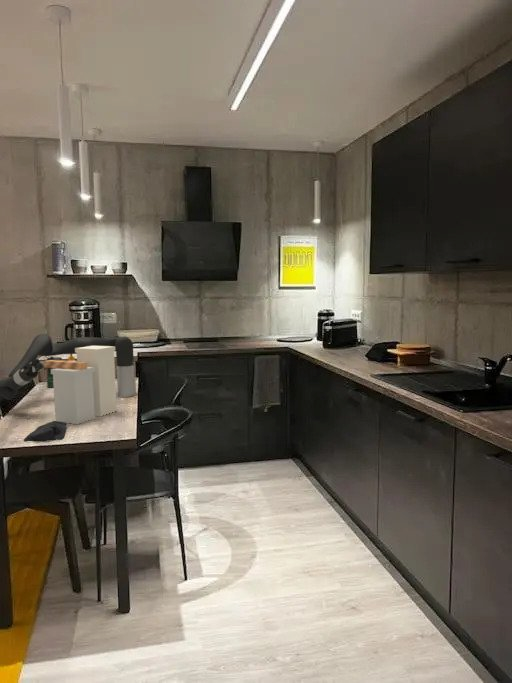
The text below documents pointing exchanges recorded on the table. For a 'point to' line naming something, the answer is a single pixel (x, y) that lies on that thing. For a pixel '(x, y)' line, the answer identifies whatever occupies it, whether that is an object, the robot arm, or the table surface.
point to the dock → (73, 395)
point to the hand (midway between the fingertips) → (46, 359)
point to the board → (65, 364)
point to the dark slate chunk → (48, 432)
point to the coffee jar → (50, 376)
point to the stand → (101, 376)
